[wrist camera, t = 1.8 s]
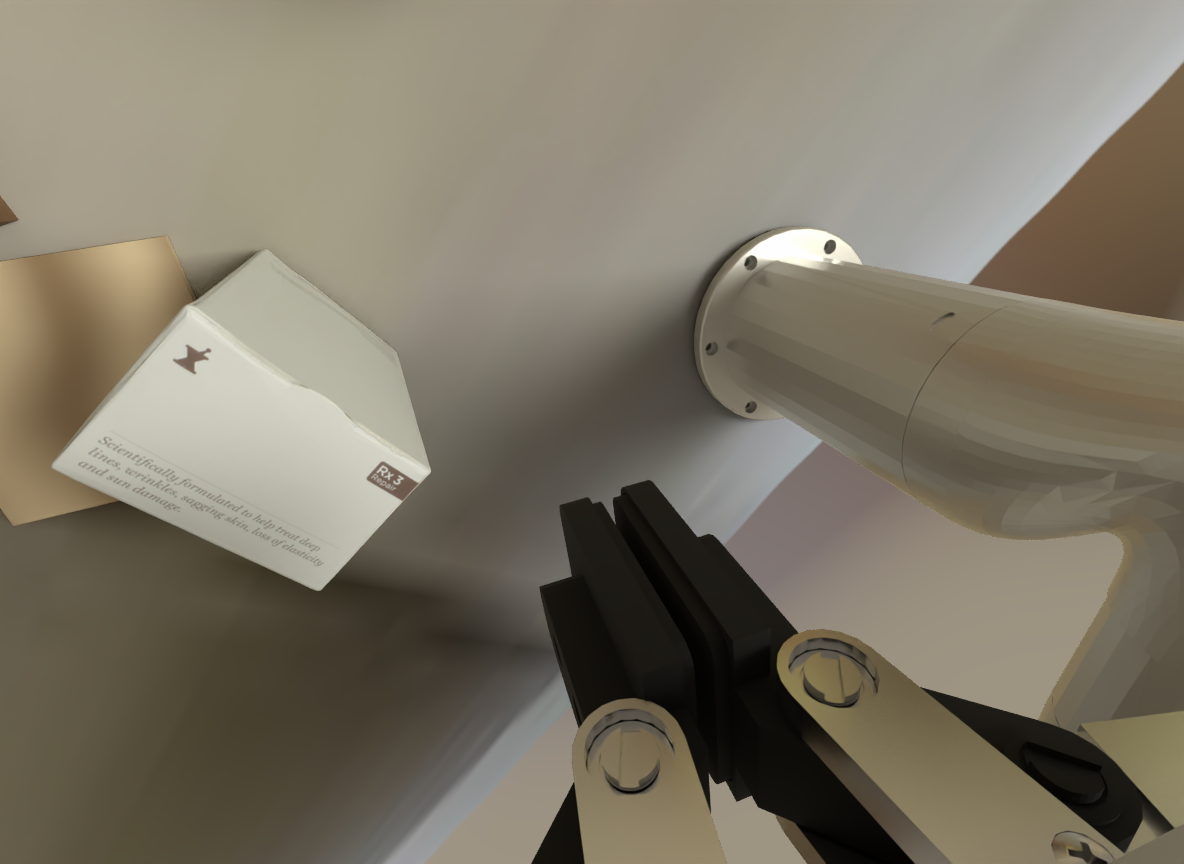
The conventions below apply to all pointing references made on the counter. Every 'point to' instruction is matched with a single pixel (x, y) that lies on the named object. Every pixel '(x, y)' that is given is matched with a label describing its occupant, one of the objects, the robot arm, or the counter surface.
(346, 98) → the counter surface
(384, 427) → the skincare box
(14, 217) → the walnut block
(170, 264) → the brass plate
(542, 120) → the counter surface
